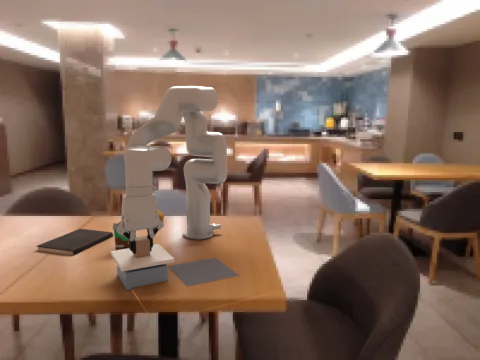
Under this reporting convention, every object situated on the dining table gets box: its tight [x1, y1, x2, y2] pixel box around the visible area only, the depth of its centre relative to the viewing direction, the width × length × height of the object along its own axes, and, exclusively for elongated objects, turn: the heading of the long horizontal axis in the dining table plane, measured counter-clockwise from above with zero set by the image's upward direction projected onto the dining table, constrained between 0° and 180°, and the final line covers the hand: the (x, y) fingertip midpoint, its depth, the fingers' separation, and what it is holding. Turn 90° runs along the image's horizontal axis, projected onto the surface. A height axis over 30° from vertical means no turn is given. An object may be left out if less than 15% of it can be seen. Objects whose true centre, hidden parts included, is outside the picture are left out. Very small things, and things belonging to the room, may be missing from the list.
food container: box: [112, 221, 137, 250], centre depth 145 cm, size 12×6×10 cm, turn 168°
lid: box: [110, 235, 175, 271], centre depth 115 cm, size 15×15×6 cm
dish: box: [116, 264, 169, 291], centre depth 116 cm, size 12×12×5 cm
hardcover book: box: [35, 228, 114, 256], centre depth 148 cm, size 16×23×2 cm
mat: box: [167, 257, 240, 287], centre depth 121 cm, size 17×17×1 cm
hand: (141, 250), depth 115 cm, fingers closed on lid, 4 cm apart
